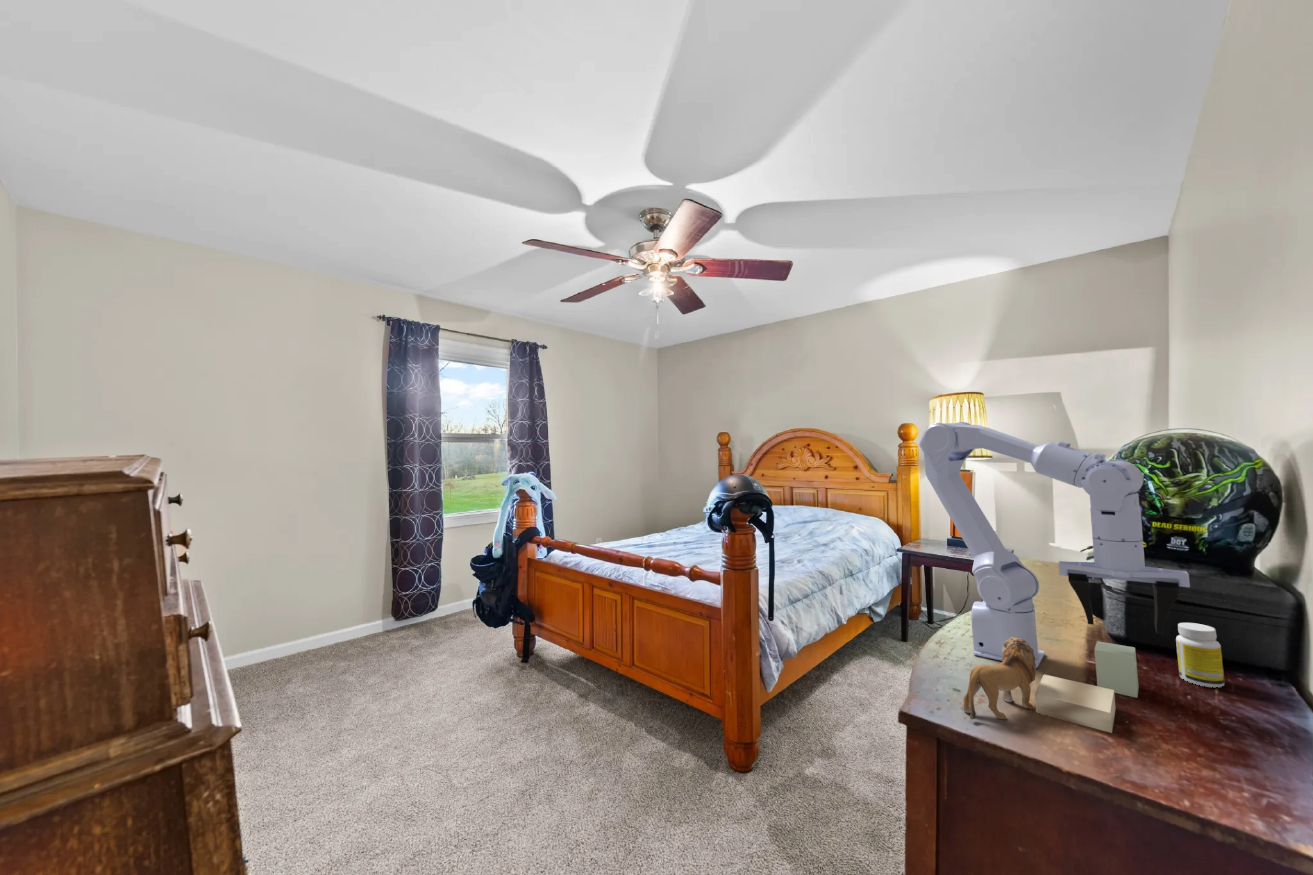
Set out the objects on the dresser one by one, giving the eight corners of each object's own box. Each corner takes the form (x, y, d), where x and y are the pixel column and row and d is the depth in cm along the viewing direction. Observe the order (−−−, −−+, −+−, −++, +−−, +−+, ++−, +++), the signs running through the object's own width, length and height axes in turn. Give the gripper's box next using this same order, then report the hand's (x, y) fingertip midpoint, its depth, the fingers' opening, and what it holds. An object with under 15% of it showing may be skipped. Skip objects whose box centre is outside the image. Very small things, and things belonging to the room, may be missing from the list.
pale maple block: (1036, 715, 70) (1034, 694, 71) (1045, 693, 76) (1043, 674, 76) (1112, 735, 65) (1110, 712, 65) (1115, 711, 70) (1113, 689, 70)
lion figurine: (1009, 687, 78) (1005, 630, 78) (1049, 701, 73) (1044, 640, 73) (953, 715, 71) (949, 652, 71) (993, 733, 66) (988, 665, 67)
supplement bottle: (1234, 689, 74) (1229, 632, 74) (1196, 688, 75) (1191, 631, 75) (1206, 674, 78) (1201, 621, 79) (1170, 673, 79) (1166, 621, 80)
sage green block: (1097, 688, 76) (1094, 649, 76) (1100, 678, 79) (1097, 641, 79) (1137, 698, 73) (1133, 656, 73) (1138, 686, 76) (1135, 647, 76)
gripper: (1056, 539, 78) (1062, 626, 77) (1190, 547, 68) (1198, 645, 68) (1057, 532, 83) (1063, 613, 83) (1181, 538, 74) (1189, 630, 73)
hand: (1123, 627), depth 76 cm, fingers open, 7 cm apart
